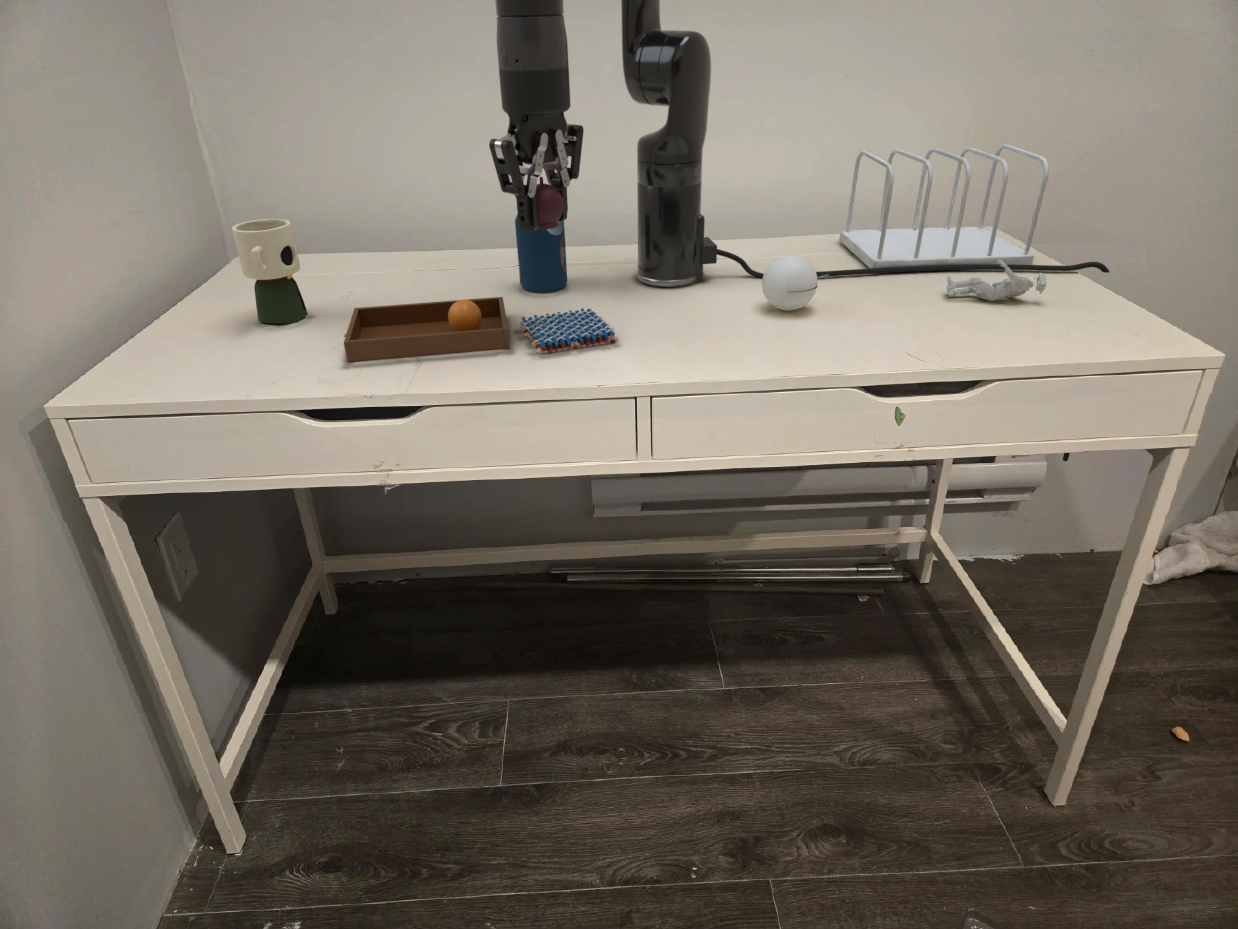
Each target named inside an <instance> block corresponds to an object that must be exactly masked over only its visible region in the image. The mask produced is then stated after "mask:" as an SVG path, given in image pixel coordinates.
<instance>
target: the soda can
mask: <svg viewBox="0 0 1238 929" xmlns="http://www.w3.org/2000/svg"><path fill="white" fill-rule="evenodd" d="M514 226H515V227H514V228H515V238H516V250H517V262H518V273H519V274H518V275H519V284H520V286H521V287H522V289H523V290H524V291H526V292H528V293H533V294H549V293H554V292H558V291H561V290H563V289H564V288H565V287H566V285H567V283H568V266H567V265H568V264H567V250H566V249H567V248H566V232H565V231H566V230H565V220H563V221H558V226H557V227H555V228H552V229H537V230H534V231H529V230H524V229H522V228H521V226H520V224H519V222H518V213H517V214H516V217H515V219H514Z"/></svg>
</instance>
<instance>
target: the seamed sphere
mask: <svg viewBox="0 0 1238 929" xmlns="http://www.w3.org/2000/svg"><path fill="white" fill-rule="evenodd" d="M816 272H817V271H816V270H815V266H814V265H812V263H810V261H808V259H806V258H804V257H802V256H800V255H797V254H785V255H782V256H779V257H777V258H775V259H774V260H773V261H772V262H771V263H769V264H768V265H767V267H766V269H765V270H764V272H763V273H764V275H763V278H761V279H762V280H761V285H762V286H761V287H762V293H763V296H764V298H765V299H766V300H767V301H768V302H769V303H770V305H771V306H772V307H774V308H776V309H779V310H781V311H784V312H785V311H786V312H791V311H795V310H799V309H802V308H804V307H805V306H806V305H807V304H809V303H810V302H811V300H812V299H813V297H814V296H815V294H816V292H817V288H818V287H819V286H818V285H819V284H818V278H823V277H822V276H820V277H817V274H816ZM827 275H829V274H827ZM824 276H826V275H824Z"/></svg>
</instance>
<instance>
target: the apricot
mask: <svg viewBox="0 0 1238 929" xmlns="http://www.w3.org/2000/svg"><path fill="white" fill-rule="evenodd" d="M459 300H460V301H457V302H456V303H454V304H453V305H452V306H451V308H450V309H449V312H448V320H449V323H450V325H451V327H452V328H453V329H454V330H455V331H456V332H458V331H470V330H478V327H479V326H480V324H481V320H482V315H481V311H480V309H479V307H478V306H477V305H476V304H475V303H473V302H471V301H468V300H467V299H459Z"/></svg>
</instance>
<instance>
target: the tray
mask: <svg viewBox="0 0 1238 929" xmlns="http://www.w3.org/2000/svg"><path fill="white" fill-rule="evenodd" d="M460 300H461V299H457V300H455V299H454V300H443V301H430V302H415V303H404V304H403V303H402V304H401V303H400V304H390V305H377V306H376V305H375V306H365V307H364V306H363V307H354V309H353V312H352V315H351V318H350V321H349V324H348V327H347V331H346V334H345V337H344V340H343V346H344V350H345V356H346V362H347V363H358V362H359V363H360V362H371V361H382V360H393V359H405V358H416V357H417V358H419V357H429V356H439V355H441V356H442V355H452V354H464V353H474V352H475V353H476V352H487V351H488V352H489V351H499V350H510V348H511V347H510V346H511V345H510V336H509V334H510V333H509V326H508V321H507V320H508V319H507V314H506V308H505V302H504V297H503V296H495V297H493V296H492V297H481V298H480V297H479V298H469V299H466V300H468V301H471V302H473V303H475V304H476V305H477V306H478V307H479V309H480V311H481V315H482V320H481V324H480V326H479V327H478V330H470V331H458V332H456V331H455V330H454V329H453V328H452V327H451V325H450V323H449V320H448V312H449V309H450V308H451V306H452V305H453V304H454V303H456V302H457V301H460Z"/></svg>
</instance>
